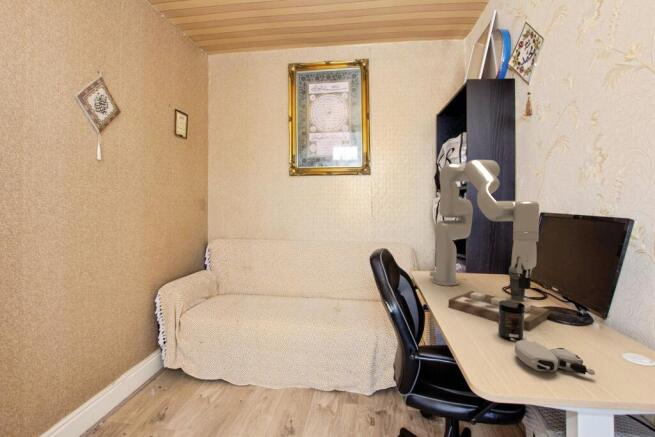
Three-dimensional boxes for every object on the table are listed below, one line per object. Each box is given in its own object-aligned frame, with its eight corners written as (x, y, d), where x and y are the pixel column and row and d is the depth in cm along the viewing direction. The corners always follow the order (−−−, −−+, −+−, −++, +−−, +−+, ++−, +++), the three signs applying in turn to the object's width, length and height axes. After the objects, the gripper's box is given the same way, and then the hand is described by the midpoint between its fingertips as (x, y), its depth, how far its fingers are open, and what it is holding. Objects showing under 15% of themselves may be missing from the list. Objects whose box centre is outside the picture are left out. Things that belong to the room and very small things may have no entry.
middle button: (490, 305, 116) (491, 299, 116) (495, 303, 119) (495, 296, 119) (501, 308, 113) (502, 301, 113) (506, 306, 116) (506, 299, 116)
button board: (448, 307, 121) (448, 298, 120) (471, 297, 132) (471, 290, 131) (529, 331, 98) (529, 321, 98) (548, 317, 109) (548, 308, 109)
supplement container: (517, 332, 97) (518, 300, 97) (527, 342, 91) (529, 308, 90) (494, 331, 98) (495, 299, 98) (503, 341, 92) (504, 307, 91)
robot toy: (566, 359, 83) (506, 351, 86) (568, 343, 83) (508, 335, 85) (597, 387, 71) (527, 376, 73) (600, 368, 71) (529, 358, 73)
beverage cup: (521, 297, 133) (523, 251, 131) (531, 302, 125) (533, 254, 124) (504, 296, 133) (505, 250, 132) (512, 302, 126) (514, 253, 125)
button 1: (470, 300, 123) (470, 293, 123) (475, 298, 125) (475, 291, 125) (480, 302, 120) (480, 296, 119) (485, 300, 122) (485, 294, 122)
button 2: (513, 311, 110) (514, 304, 110) (518, 309, 113) (518, 302, 112) (526, 314, 107) (526, 307, 107) (530, 312, 109) (531, 305, 109)
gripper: (522, 234, 115) (521, 282, 116) (504, 237, 106) (503, 289, 107) (545, 235, 109) (544, 286, 110) (529, 238, 100) (528, 294, 101)
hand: (524, 287), depth 109 cm, fingers closed
